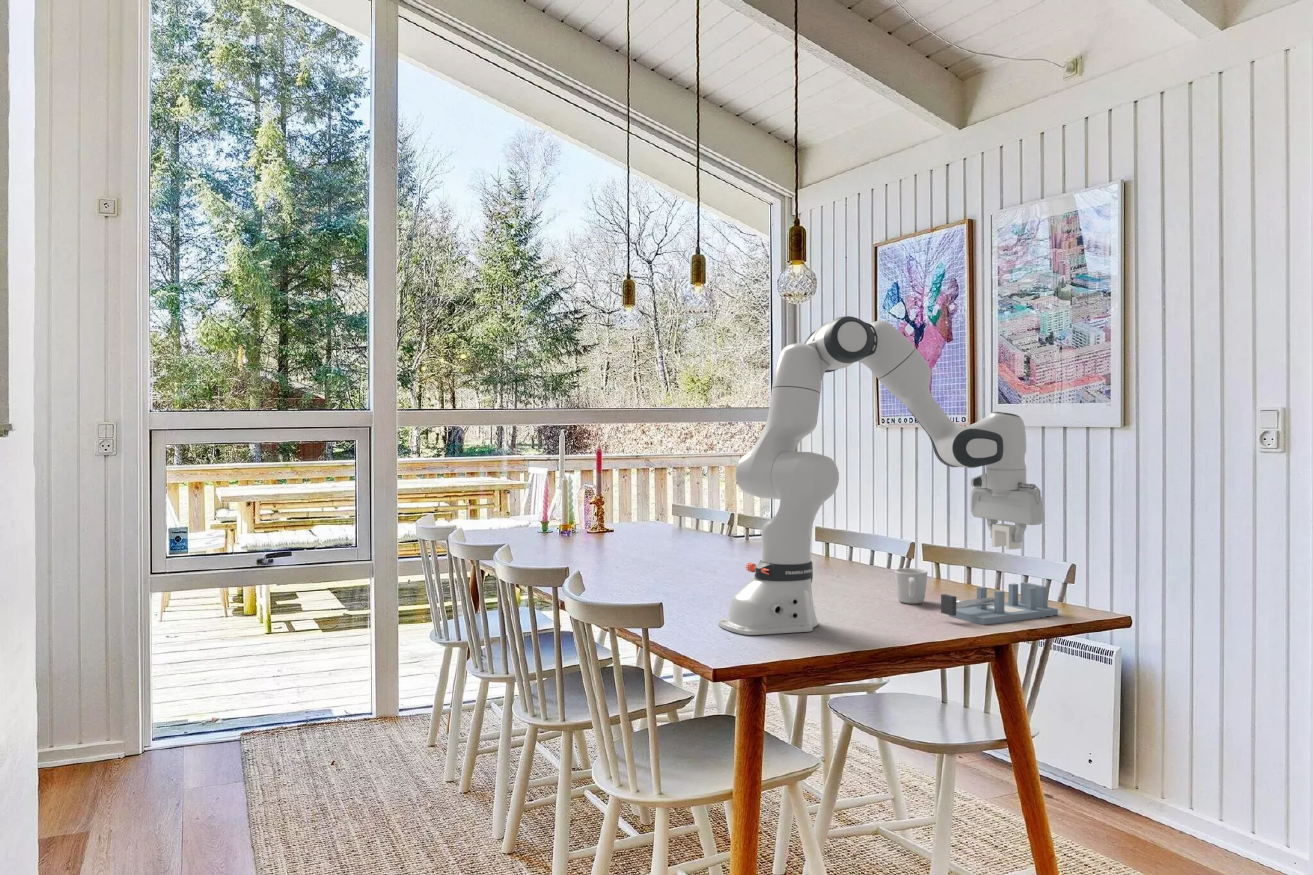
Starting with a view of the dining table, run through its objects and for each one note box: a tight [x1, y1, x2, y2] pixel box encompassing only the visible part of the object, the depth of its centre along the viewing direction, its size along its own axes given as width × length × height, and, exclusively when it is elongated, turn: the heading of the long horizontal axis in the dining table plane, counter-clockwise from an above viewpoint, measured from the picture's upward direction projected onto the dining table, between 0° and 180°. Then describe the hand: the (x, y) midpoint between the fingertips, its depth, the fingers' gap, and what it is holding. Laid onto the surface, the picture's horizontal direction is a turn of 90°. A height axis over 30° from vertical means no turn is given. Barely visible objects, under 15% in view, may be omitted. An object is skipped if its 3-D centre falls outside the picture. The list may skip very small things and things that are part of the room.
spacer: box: [991, 523, 1022, 550], centre depth 221 cm, size 4×6×5 cm, turn 23°
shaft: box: [940, 593, 994, 617], centre depth 217 cm, size 14×4×4 cm, turn 115°
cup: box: [894, 567, 928, 605], centre depth 237 cm, size 11×8×8 cm
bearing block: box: [948, 581, 1059, 626], centre depth 222 cm, size 23×11×6 cm, turn 115°
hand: (1006, 540), depth 221 cm, fingers closed on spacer, 5 cm apart
